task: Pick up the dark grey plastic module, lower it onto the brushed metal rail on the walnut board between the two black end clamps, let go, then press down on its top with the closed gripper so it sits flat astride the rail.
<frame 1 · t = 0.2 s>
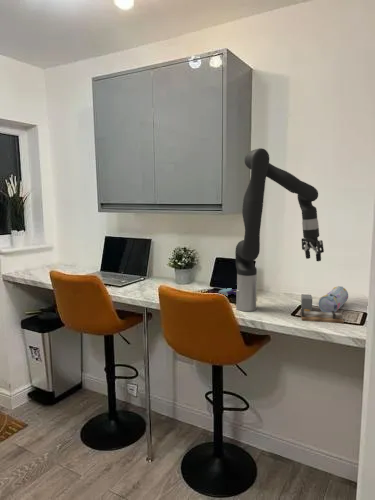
hand: (313, 259, 181), 22 cm above the worktop, tool pointing down, fingers open, 8 cm apart
pencil case: (333, 309, 175), on the worktop
pistol: (235, 296, 201), on the worktop
din module: (306, 309, 174), on the worktop
rail board: (321, 318, 161), on the worktop
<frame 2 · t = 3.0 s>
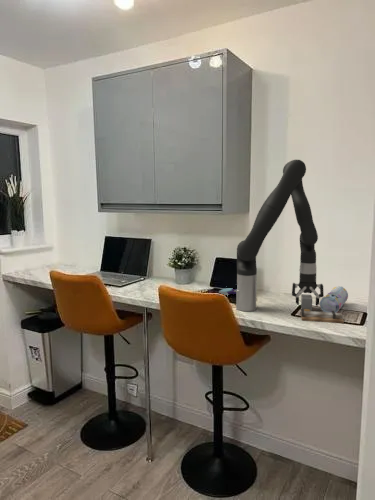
hand: (307, 304, 174), 2 cm above the worktop, tool pointing down, fingers open, 8 cm apart
pencil case: (333, 309, 175), on the worktop, touching hand
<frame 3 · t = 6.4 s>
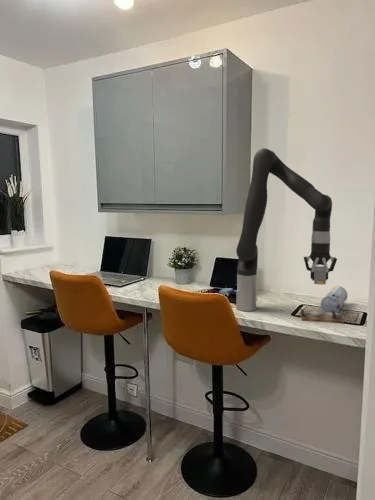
hand: (319, 280, 159), 17 cm above the worktop, tool pointing down, fingers closed on din module, 4 cm apart
pencil case: (334, 309, 175), on the worktop
din module: (319, 282, 159), point 16 cm above the worktop, touching gripper
when the fingers open (4 cm above the worktop, at t = 9.4 s): din module drops 2 cm, resting on rail board.
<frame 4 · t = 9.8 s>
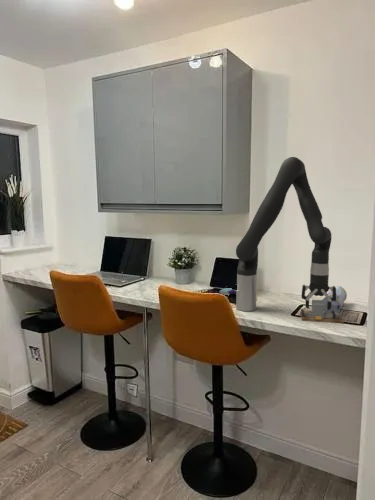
hand: (318, 308, 160), 4 cm above the worktop, tool pointing down, fingers open, 8 cm apart
din module: (317, 316, 161), point 1 cm above the worktop, touching rail board
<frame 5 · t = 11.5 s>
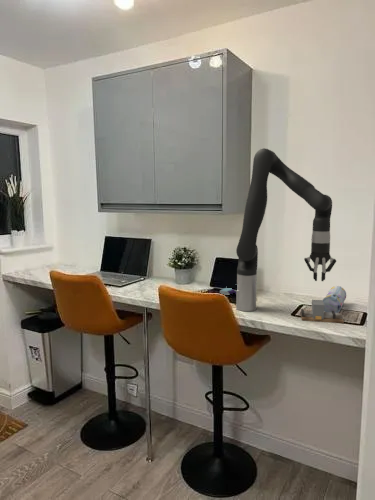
hand: (319, 280, 159), 17 cm above the worktop, tool pointing down, fingers closed
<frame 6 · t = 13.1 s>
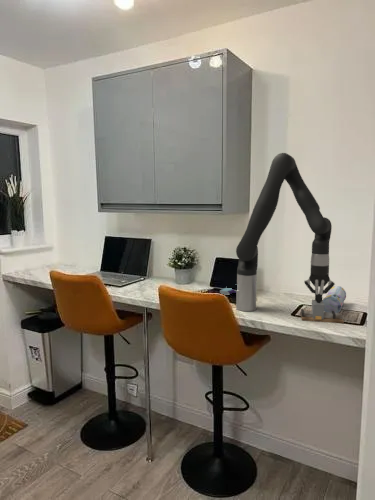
hand: (318, 302, 160), 7 cm above the worktop, tool pointing down, fingers closed
din module: (317, 316, 161), point 1 cm above the worktop, touching gripper, rail board
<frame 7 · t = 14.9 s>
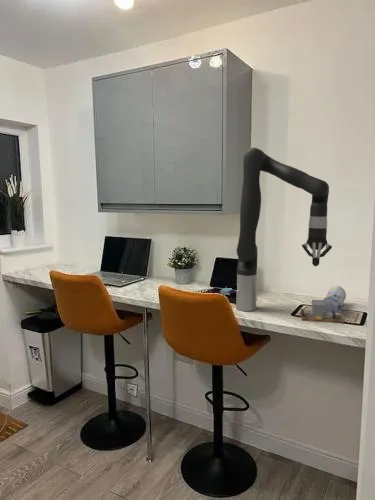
hand: (315, 265, 160), 23 cm above the worktop, tool pointing down, fingers closed
din module: (317, 316, 161), point 1 cm above the worktop, touching rail board
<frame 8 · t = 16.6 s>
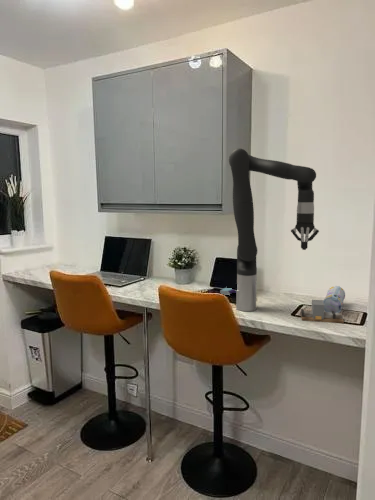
hand: (304, 249, 169), 29 cm above the worktop, tool pointing down, fingers closed
at the end: din module 0.1 cm from the target spot on the rail board, point 1.0 cm above the rail board's base; din module tilted 0°; the gripper is holding nothing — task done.
